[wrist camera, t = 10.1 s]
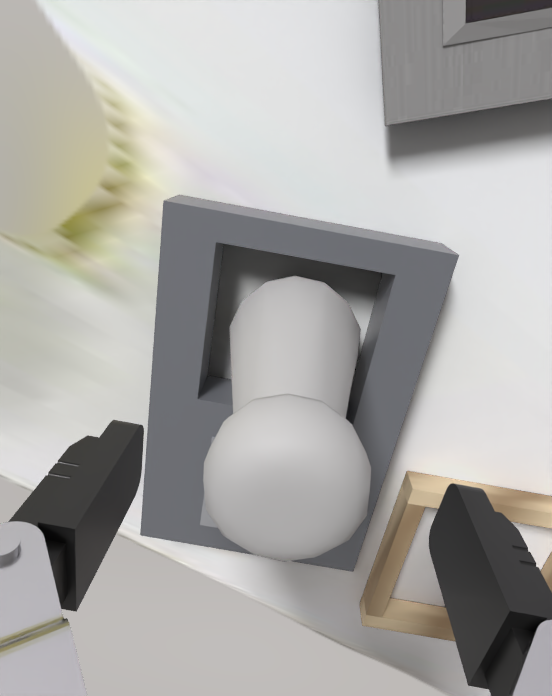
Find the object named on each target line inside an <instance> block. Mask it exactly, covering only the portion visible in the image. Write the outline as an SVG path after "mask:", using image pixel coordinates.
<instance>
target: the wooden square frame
mask: <svg viewBox="0 0 552 696" xmlns="http://www.w3.org/2000/svg"><path fill="white" fill-rule="evenodd" d="M451 483H454V484H460V485H465V486H471V487H476V488H481V489H483V490H484V491H485V493H486V495H487V497H488V499H489V501H490V503H491V505H492V507H493V509H494V511H495V512H500V513H503V515H504V516H505V517H506V518H507V519H508V520H509V521H511V522H517V523H523V524H529V525H534V526H540V527H546V528H552V496H547V495H542V494H536V493H530V492H525V491H519V490H513V489H508V488H502V487H496V486H490V485H485V484H479V483H473V482H468V481H462V480H456V479H451V478H445V477H439V476H433V475H428V474H422V473H416V472H411V471H407V472H406V475H405V478H404V480H403V483H402V486H401V489H400V492H399V495H398V497H397V500H396V503H395V506H394V509H393V511H392V514H391V517H390V520H389V523H388V525H387V528H386V531H385V534H384V537H383V539H382V542H381V545H380V548H379V551H378V553H377V556H376V559H375V562H374V565H373V567H372V570H371V573H370V576H369V579H368V582H367V584H366V587H365V590H364V593H363V596H362V598H361V601H360V612H361V620H362V626H368V627H373V628H379V629H385V630H391V631H397V632H403V633H409V634H415V635H421V636H427V637H433V638H439V639H445V640H450V641H455V637H454V634H453V630H452V627H451V623H450V620H449V616H448V613H447V610H446V607H440V606H434V605H428V604H422V603H417V602H411V601H405V600H399V599H393V598H390V596H391V593H392V591H393V588H394V586H395V583H396V581H397V578H398V576H399V573H400V570H401V568H402V565H403V563H404V560H405V558H406V555H407V553H408V550H409V547H410V545H411V542H412V540H413V537H414V535H415V532H416V530H417V527H418V524H419V522H420V519H421V517H422V514H423V512H424V509H425V507H431V508H437V509H439V506H440V504H441V501H442V499H443V497H444V494H445V492H446V489H447V487H448V486H449V485H450V484H451ZM541 573H542V575H543V577H544V579H545V581H546V583H547V585H548V586H549V588H550V590H551V592H552V552H551V554H550V556H549V558H548V559H547V561H546V563H545V565H544V566H543V568H542V570H541Z"/></svg>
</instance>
